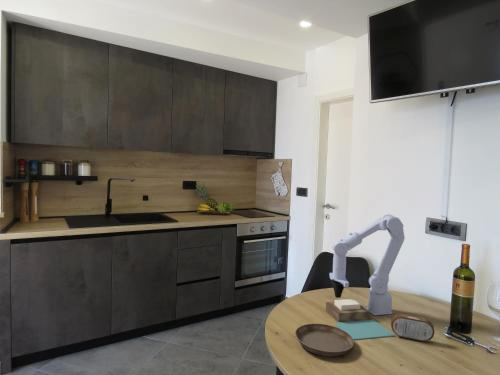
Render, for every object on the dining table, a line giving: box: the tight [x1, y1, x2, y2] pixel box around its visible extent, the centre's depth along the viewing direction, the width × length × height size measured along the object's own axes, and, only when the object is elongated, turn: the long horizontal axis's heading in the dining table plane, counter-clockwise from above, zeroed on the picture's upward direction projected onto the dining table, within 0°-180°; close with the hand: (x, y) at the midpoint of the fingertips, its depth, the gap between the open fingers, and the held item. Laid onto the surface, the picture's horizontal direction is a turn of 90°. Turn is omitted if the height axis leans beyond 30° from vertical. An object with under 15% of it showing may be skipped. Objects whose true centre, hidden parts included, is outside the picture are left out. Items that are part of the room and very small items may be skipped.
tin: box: [390, 313, 435, 343], centre depth 127 cm, size 15×3×8 cm, turn 71°
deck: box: [325, 301, 370, 322], centre depth 146 cm, size 14×12×4 cm
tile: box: [334, 298, 361, 310], centre depth 146 cm, size 9×6×2 cm, turn 103°
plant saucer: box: [294, 323, 355, 357], centre depth 121 cm, size 21×21×3 cm
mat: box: [334, 319, 396, 341], centre depth 134 cm, size 18×14×1 cm
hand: (337, 297), depth 154 cm, fingers closed
